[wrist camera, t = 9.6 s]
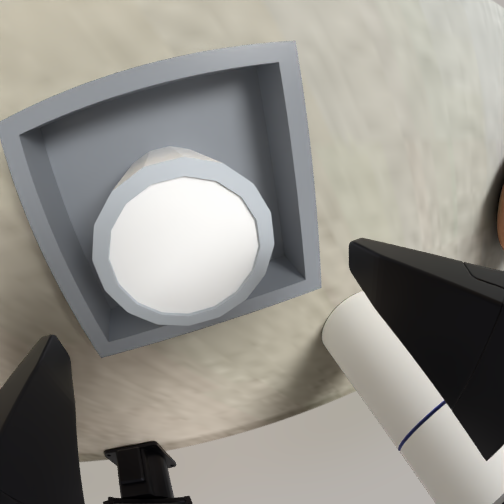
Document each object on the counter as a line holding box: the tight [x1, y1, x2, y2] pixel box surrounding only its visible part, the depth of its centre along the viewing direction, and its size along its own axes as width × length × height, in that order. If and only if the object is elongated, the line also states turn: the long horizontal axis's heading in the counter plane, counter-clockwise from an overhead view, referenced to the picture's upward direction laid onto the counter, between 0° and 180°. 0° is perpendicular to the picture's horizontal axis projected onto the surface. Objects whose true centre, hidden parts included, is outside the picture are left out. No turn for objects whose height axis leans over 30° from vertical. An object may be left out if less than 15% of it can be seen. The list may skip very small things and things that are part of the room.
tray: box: [0, 41, 321, 358], centre depth 16 cm, size 14×14×4 cm
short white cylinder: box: [92, 146, 274, 326], centre depth 14 cm, size 7×7×7 cm
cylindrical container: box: [322, 291, 504, 504], centre depth 18 cm, size 7×7×25 cm
